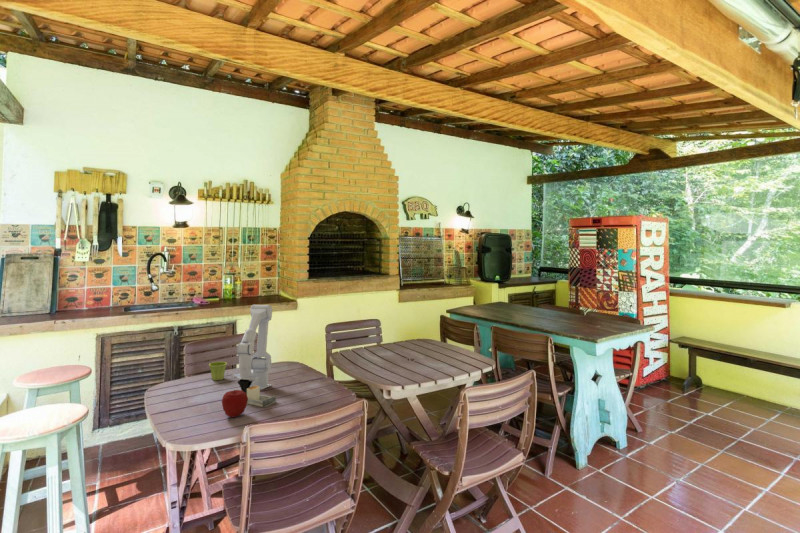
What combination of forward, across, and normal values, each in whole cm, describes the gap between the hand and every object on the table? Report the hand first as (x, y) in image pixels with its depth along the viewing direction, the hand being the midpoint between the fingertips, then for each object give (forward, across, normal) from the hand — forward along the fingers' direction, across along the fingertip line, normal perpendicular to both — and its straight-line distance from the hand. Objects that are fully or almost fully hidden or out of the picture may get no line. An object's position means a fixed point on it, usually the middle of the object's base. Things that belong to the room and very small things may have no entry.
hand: (245, 394), depth 204 cm
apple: (+3, +10, -17) cm, 20 cm away
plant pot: (+3, -38, +18) cm, 42 cm away
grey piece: (+3, +8, 0) cm, 8 cm away
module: (+2, +5, 0) cm, 5 cm away
